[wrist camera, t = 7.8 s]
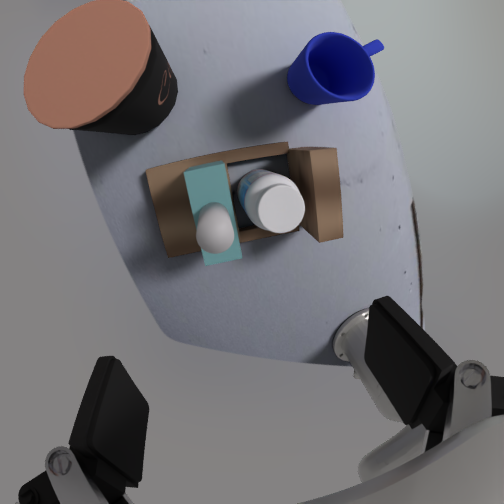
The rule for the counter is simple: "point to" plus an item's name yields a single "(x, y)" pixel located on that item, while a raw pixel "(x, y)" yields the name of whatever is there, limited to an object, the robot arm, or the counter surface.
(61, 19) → the coffee jar
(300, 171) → the wooden tray
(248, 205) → the pill bottle
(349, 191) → the counter surface
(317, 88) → the mug
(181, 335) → the counter surface
